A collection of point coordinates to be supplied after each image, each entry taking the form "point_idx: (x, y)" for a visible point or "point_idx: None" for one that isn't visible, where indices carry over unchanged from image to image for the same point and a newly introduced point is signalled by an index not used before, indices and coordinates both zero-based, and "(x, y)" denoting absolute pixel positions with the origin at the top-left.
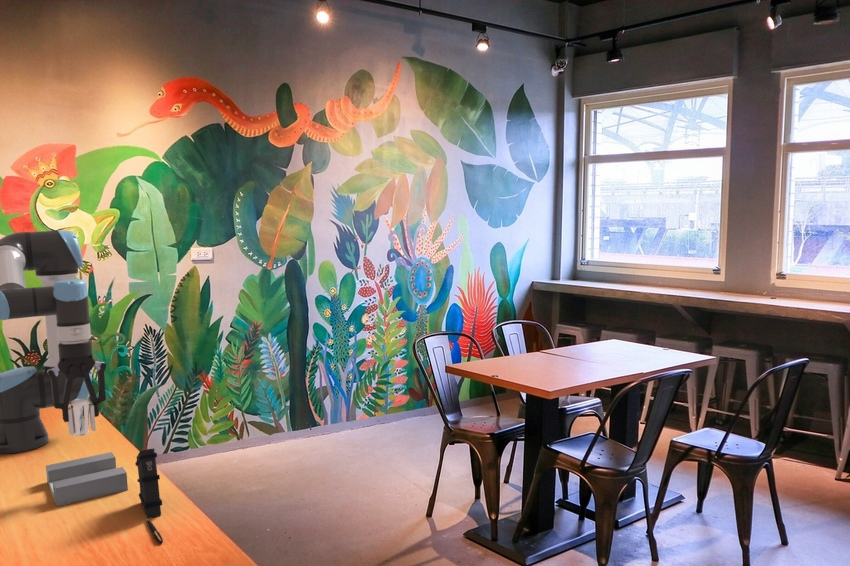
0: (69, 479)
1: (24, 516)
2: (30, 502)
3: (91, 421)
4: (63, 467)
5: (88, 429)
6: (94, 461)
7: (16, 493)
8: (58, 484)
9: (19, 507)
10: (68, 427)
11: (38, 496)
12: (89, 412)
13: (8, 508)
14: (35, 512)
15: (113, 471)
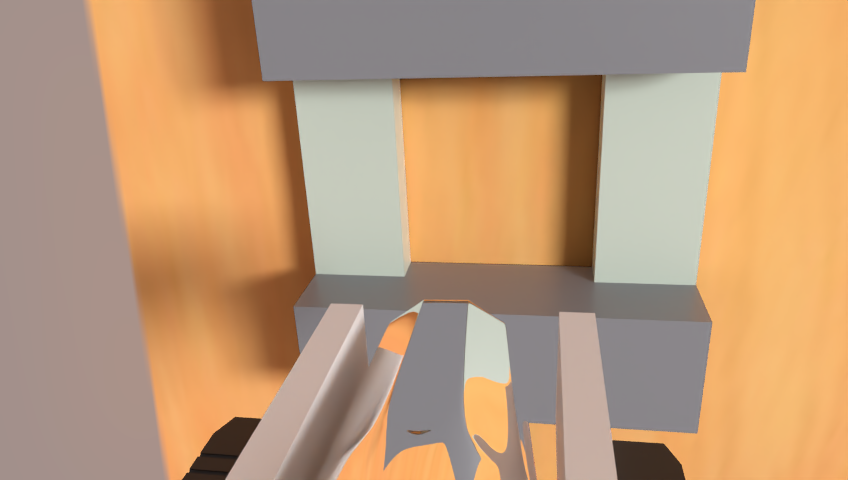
0: (382, 326)
1: (209, 367)
2: (219, 218)
3: (557, 466)
4: (359, 67)
5: (521, 381)
6: (578, 74)
7: (134, 26)
8: None
9: (176, 250)
10: (313, 338)
11: (251, 157)
12: (563, 444)
13: (130, 229)
14: (249, 354)
15: (636, 365)
